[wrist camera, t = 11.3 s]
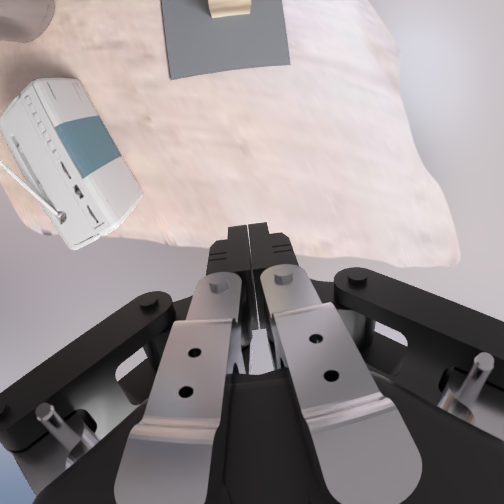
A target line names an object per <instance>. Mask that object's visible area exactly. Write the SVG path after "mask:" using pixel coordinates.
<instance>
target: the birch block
mask: <svg viewBox="0 0 504 504" xmlns="http://www.w3.org/2000/svg"><path fill="white" fill-rule="evenodd" d="M208 3H209V10H210V13H211V16H212V18H217V17H225V16H233V15H242V14H250V9H251V0H208Z"/></svg>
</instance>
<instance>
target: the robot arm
mask: <svg viewBox="0 0 504 504" xmlns="http://www.w3.org/2000/svg"><path fill="white" fill-rule="evenodd" d="M54 9H55V2H54V0H0V40H5V41H13V42H22V43H25V42H29V41H32V40H34V39H35V38H37V37H38V36H39V35H40V34H42V32H43V31H44V30H45V29H46V28H47V26H48V25H49V23H50V21H51V19H52V17H53V14H54ZM248 228H249V238H250V246H249V238H248V231H247V225H241V226H233V227H228V239H226V240H219V241H216V242H215V243H214V244H213V245H212V246H211V247H210V252H209V258H208V265H207V271H206V276H205V277H204V278H202V279H201V280H200V281H199V282H198V283H197V286H196V288H195V291H194V295H192V296H190V297H188V298H185V299H182V300H179V301H176V302H172V298H171V296H170V295H169V294H167V293H165V292H161V291H154V292H149V293H145V294H143V295H140V296H138V297H137V298H135V299H134V300H132V301H131V302H129V303H128V304H126V305H125V306H123V307H122V308H121V309H119V310H118V311H116V312H115V313H113V314H112V315H110V316H109V317H107V318H106V319H105V320H103V321H101V322H100V323H99V324H97V325H96V326H94V327H93V328H91V329H90V330H88V331H87V332H85V333H84V334H83V335H81V336H80V337H78V338H77V339H75V340H74V341H73V342H71V343H70V344H68V345H67V346H65V347H64V348H63V349H61V350H60V351H58V352H57V353H55V354H54V355H53V356H51V357H50V358H48V359H47V360H46V361H44V362H43V363H42V364H40V365H39V366H37V367H36V368H34V369H33V370H32V371H30V372H29V373H28V374H26V375H25V376H23V377H22V378H21V379H19V380H18V381H17V382H15V383H14V384H12V385H11V386H10V387H8V388H7V389H5V390H4V391H3V392H1V393H0V442H1V444H2V445H3V446H4V448H5V449H6V450H7V451H9V452H10V453H11V454H12V455H13V456H14V458H15V460H16V462H17V464H18V465H19V467H20V469H21V471H22V473H23V475H24V476H25V478H26V480H27V482H28V483H29V485H30V487H31V488H32V490H33V492H34V493H35V495H36V499H35V500H34V502H33V504H504V322H502V321H500V320H498V319H495V318H493V317H490V316H488V315H485V314H483V313H480V312H478V311H475V310H473V309H470V308H468V307H465V306H463V305H460V304H458V303H455V302H453V301H450V300H448V299H445V298H442V297H440V296H437V295H435V294H432V293H429V292H427V291H424V290H422V289H419V288H417V287H414V286H411V285H409V284H406V283H404V282H401V281H398V280H396V279H393V278H390V277H388V276H385V275H382V274H379V273H377V272H374V271H372V270H368V269H365V268H359V267H358V268H357V267H354V268H347V269H344V270H341V271H340V272H338V273H337V274H336V275H335V277H334V282H323V281H316V280H312V279H310V278H309V277H308V275H307V273H306V272H305V270H304V269H303V268H301V267H299V265H298V262H297V259H296V256H295V254H294V251H293V248H292V245H291V242H290V240H289V237H287V236H286V235H284V234H283V233H274V234H269V231H268V226H267V222H264V223H256V224H248ZM250 249H251V253H250ZM251 259H252V261H251ZM253 277H254V278H253ZM254 284H255V288H254ZM255 292H256V298H255ZM256 299H257V307H258V314H259V322H260V328H261V329H265V328H266V330H267V337H268V346H269V351H270V355H271V359H272V363H273V367H274V371H271V372H268V373H265V374H261V375H251V369H252V343H251V340H252V330H257V329H258V319H257V309H256ZM376 321H377V322H379V323H381V324H384V325H386V326H388V327H390V328H392V329H394V330H397V331H399V332H401V333H402V334H403V335H404V336H405V338H406V339H407V342H408V347H407V346H405V345H402V344H400V343H398V342H396V341H394V340H392V339H390V338H388V337H386V336H383V335H381V334H379V333H377V332H375V331H374V329H375V322H376ZM141 347H143V348H144V351H145V353H146V355H147V357H148V358H147V359H145V360H144V361H143V362H142V363H140V364H139V365H138V366H137V367H135V368H134V369H133V370H132V371H130V372H129V373H128V374H127V375H125V376H124V377H123V378H121V379H120V380H119V381H118V382H117V380H116V378H115V372H116V369H117V367H118V366H119V365H120V364H121V363H122V362H123V361H125V360H126V359H127V358H129V357H130V356H131V355H133V354H134V353H135V352H136V351H138V350H139V349H140V348H141Z"/></svg>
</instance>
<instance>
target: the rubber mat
mask: <svg viewBox="0 0 504 504" xmlns="http://www.w3.org/2000/svg"><path fill="white" fill-rule="evenodd" d="M162 10H163V19H164V28H165V37H166V45H167V53H168V60H169V68H170V75H171V80H174V79H179V78H185V77H190V76H196V75H201V74H208V73H214V72H221V71H228V70H236V69H245V68H254V67H265V66H278V65H290V57H289V49H288V42H287V34H286V27H285V20H284V13H283V6H282V0H251V9H250V14H242V15H233V16H225V17H217V18H212V16H211V13H210V10H209V3H208V0H162Z"/></svg>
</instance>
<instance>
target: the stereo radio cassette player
mask: <svg viewBox="0 0 504 504" xmlns="http://www.w3.org/2000/svg"><path fill="white" fill-rule="evenodd" d="M20 93H21V94H20V95H18V96H17V97H15V98H14V99H13V100H12V101H11V103H10V104H9V105H8V106H7V108H6V109H5V110H4V112H3V113H2V114H1V116H0V130H1V132H2V134H3V137H4V139H5V141H6V143H7V145H8V147H9V149H10V151H11V153H12V154H13V156H14V158H15V160H16V162H17V164H18V166H19V168H20V170H21V171H22V173H23V175H24V177H25V179H26V180H27V182H28V184H29V186H30V187H31V188H30V187H29V186H28V185H27V184H26V183H25V182H23V181H22V180H21V179H20V178H19V177H18V176H17V175H16V174H15V173H14V172H13V171H12V170H11V169H10V168H8V167H7V166H6V165H5V164H4V163H3V162H2V161H1V160H0V166H2V167H3V168H4V169H5V171H6V172H7V173H8V174H10V175H11V176H12V177H13V178H14V179H15V180H16V181H17V182H18V183H19V184H20V185H21V186H23V187H24V188H25V189H26V190H27V191H28V192H29V193H30V194H32V195H33V196H34V197H35V198H36V199H37V200H38V201H39V203H40V204H41V206H42V208H43V209H44V211H45V212H46V214H47V216H48V217H49V219H50V220H51V222H52V223H53V225H54V227H55V228H56V230H57V231H58V233H59V234H60V236H61V237H62V239H63V240H64V241H65V243H66V245H67V246H68V247H69V249H72V250H77V249H79V248H81V247H83V246H85V245H87V244H89V243H91V242H94V241H95V240H97V239H98V238H99V237H101V236H105V235H107V234H109V233H110V232H112V231H114V230H115V229H117V228H118V227H119V226H120V225H121V224H122V222H123V221H124V220H125V219H126V218H127V216H128V215H129V214H130V213H131V212H132V211H133V209H134V208H135V207H136V206H137V204H138V203H139V202H140V201H141V199H142V198H143V196H144V194H143V191H142V189H141V188H140V186H139V184H138V183H137V181H136V179H135V178H134V176H133V174H132V173H131V171H130V169H129V168H128V166H127V164H126V163H125V161H124V159H123V157H122V156H121V154H120V152H119V150H118V149H117V147H116V145H115V144H114V142H113V140H112V138H111V136H110V135H109V133H108V131H107V129H106V128H105V126H104V124H103V122H102V120H101V119H100V117H99V115H98V113H97V111H96V109H95V108H94V106H93V104H92V102H91V100H90V98H89V96H88V95H87V93H86V91H85V89H84V87H83V85H82V83H81V82H80V81H79V80H78V79H72V78H40V79H36V80H33V81H31V82H30V83H29V84H28V85H27V86H26V87H25V88H24V89H23V90H22V91H21V92H20Z"/></svg>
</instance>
